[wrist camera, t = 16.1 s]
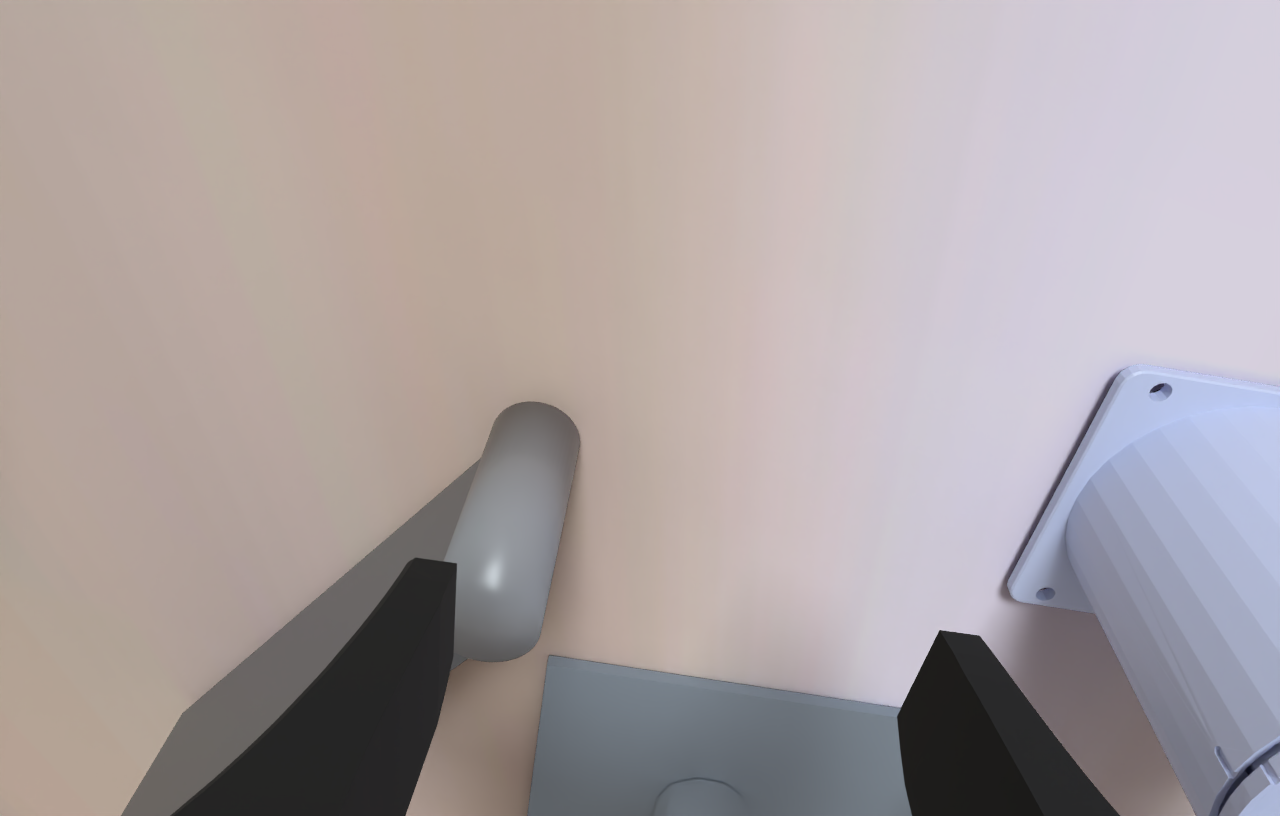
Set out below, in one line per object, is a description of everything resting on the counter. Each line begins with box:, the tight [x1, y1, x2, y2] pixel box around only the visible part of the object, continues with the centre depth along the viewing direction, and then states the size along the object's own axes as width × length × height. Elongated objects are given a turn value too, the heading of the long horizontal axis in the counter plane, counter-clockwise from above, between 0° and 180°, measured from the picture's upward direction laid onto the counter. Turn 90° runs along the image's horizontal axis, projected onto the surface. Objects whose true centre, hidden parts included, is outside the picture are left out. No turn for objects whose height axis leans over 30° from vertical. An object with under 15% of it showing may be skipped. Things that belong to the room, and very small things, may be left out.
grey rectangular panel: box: [121, 402, 580, 816], centre depth 24 cm, size 2×20×7 cm, turn 135°
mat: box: [527, 655, 912, 816], centre depth 33 cm, size 14×14×1 cm
